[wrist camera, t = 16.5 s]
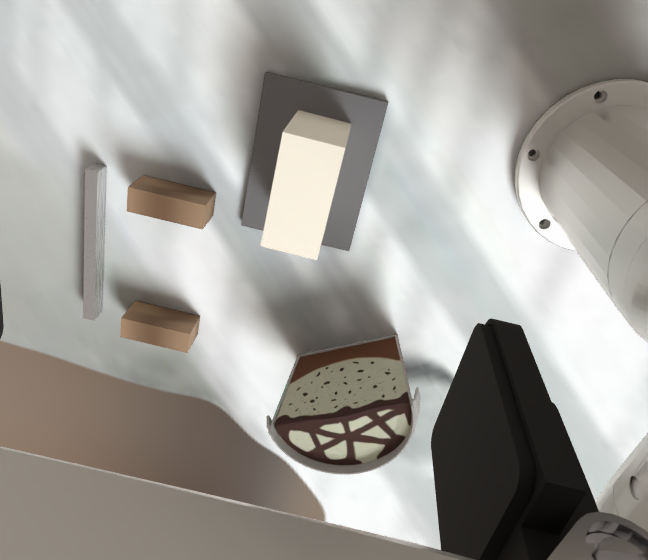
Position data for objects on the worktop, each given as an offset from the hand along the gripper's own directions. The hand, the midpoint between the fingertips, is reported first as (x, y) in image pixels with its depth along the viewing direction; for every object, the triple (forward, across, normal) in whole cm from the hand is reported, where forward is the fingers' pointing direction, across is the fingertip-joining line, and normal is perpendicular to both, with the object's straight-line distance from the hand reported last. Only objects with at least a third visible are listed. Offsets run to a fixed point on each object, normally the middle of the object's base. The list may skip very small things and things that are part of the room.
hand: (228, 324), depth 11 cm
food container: (+34, -7, +25) cm, 42 cm away
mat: (+33, +1, +7) cm, 34 cm away
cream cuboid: (+33, +1, +7) cm, 33 cm away
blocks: (+33, +13, +18) cm, 40 cm away
